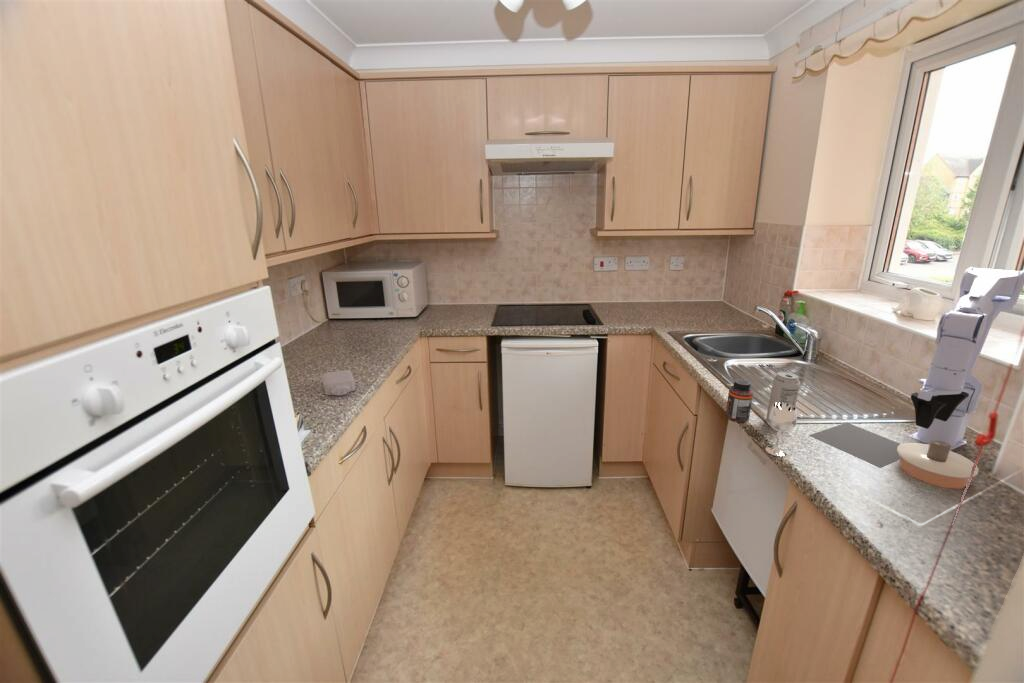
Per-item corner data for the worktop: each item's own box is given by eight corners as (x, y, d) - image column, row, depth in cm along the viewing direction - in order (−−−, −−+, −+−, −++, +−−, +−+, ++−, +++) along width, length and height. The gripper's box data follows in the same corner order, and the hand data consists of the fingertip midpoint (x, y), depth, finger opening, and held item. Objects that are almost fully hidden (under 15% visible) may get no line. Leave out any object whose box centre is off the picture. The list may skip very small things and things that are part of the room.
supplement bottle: (723, 412, 126) (729, 376, 123) (746, 415, 124) (752, 378, 121) (726, 422, 121) (732, 384, 117) (750, 425, 119) (757, 386, 116)
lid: (915, 440, 104) (919, 424, 103) (990, 468, 93) (996, 451, 91) (884, 453, 99) (888, 436, 98) (959, 484, 87) (965, 467, 86)
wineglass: (780, 444, 109) (788, 401, 106) (795, 457, 104) (804, 411, 100) (757, 445, 109) (765, 401, 105) (771, 458, 103) (779, 412, 100)
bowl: (915, 456, 104) (919, 443, 103) (977, 481, 94) (982, 467, 93) (888, 467, 99) (892, 454, 98) (951, 495, 90) (956, 481, 89)
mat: (846, 424, 119) (846, 422, 119) (918, 452, 105) (919, 451, 105) (808, 436, 113) (809, 435, 112) (879, 469, 99) (880, 467, 99)
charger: (327, 403, 135) (323, 386, 148) (358, 398, 139) (352, 381, 152) (325, 389, 134) (321, 373, 147) (356, 384, 138) (350, 369, 151)
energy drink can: (782, 421, 121) (792, 370, 116) (795, 432, 115) (806, 379, 110) (760, 421, 121) (769, 370, 116) (772, 432, 115) (782, 379, 111)
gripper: (942, 356, 101) (926, 409, 105) (907, 365, 95) (892, 421, 99) (984, 365, 95) (965, 422, 99) (949, 376, 89) (931, 436, 93)
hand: (931, 422), depth 99 cm, fingers open, 7 cm apart
